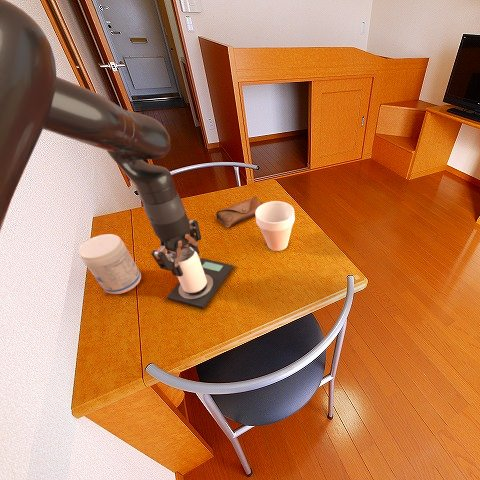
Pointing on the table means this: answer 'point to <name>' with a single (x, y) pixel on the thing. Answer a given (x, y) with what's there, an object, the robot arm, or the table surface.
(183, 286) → the can
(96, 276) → the supplement tub
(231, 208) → the sunglasses case
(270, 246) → the cup
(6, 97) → the robot arm
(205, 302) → the scale
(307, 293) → the table surface
